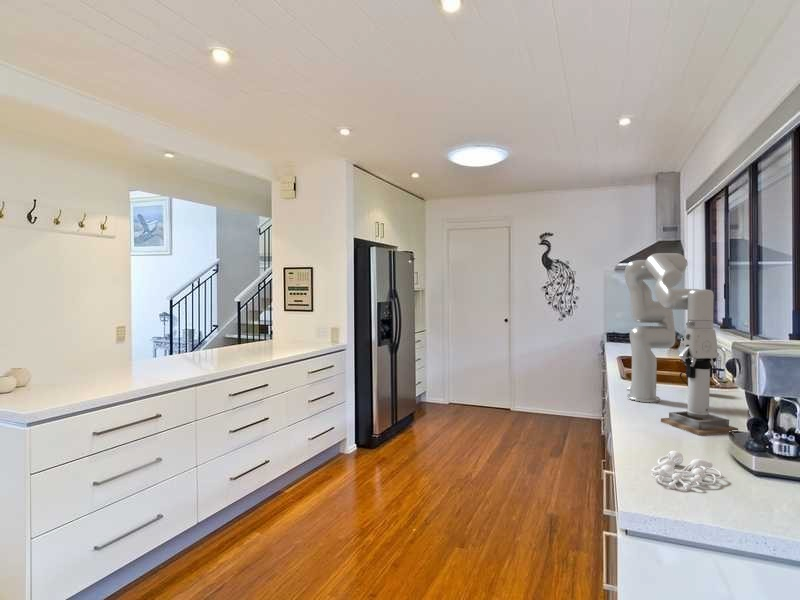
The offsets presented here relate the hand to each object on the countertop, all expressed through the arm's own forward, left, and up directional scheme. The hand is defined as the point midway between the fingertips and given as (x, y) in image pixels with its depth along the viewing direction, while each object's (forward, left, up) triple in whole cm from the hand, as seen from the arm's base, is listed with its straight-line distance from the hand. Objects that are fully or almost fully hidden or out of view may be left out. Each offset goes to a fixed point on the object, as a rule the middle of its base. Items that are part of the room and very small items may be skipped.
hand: (699, 376), depth 162 cm
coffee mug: (-44, +44, -18) cm, 65 cm away
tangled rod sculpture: (+35, -40, -18) cm, 56 cm away
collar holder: (0, 0, -17) cm, 17 cm away
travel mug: (0, 0, -14) cm, 14 cm away
